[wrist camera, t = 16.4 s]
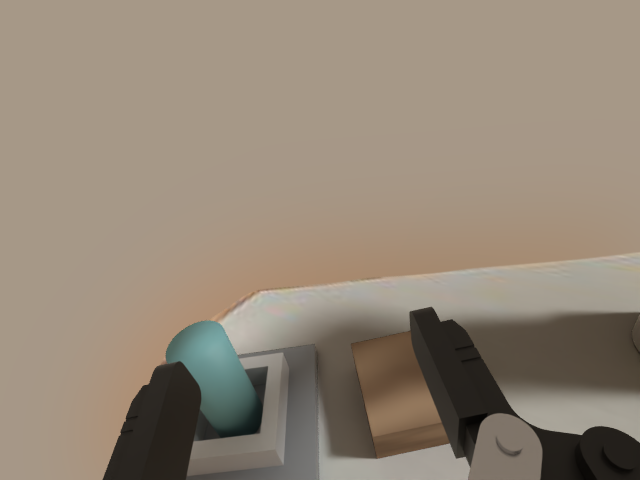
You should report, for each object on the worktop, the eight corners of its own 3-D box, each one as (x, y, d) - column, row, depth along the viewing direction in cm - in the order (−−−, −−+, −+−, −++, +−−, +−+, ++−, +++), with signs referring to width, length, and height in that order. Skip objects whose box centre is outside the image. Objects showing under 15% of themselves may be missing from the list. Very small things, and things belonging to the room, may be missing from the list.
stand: (355, 365, 39) (350, 343, 37) (439, 347, 39) (439, 324, 37) (377, 458, 31) (372, 437, 29) (483, 435, 31) (487, 412, 29)
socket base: (194, 369, 43) (180, 346, 41) (316, 351, 42) (309, 327, 39) (142, 526, 30) (116, 507, 27) (319, 508, 28) (309, 486, 26)
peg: (240, 387, 38) (199, 314, 31) (273, 408, 35) (236, 331, 29) (206, 428, 35) (153, 355, 28) (240, 453, 32) (190, 379, 25)
